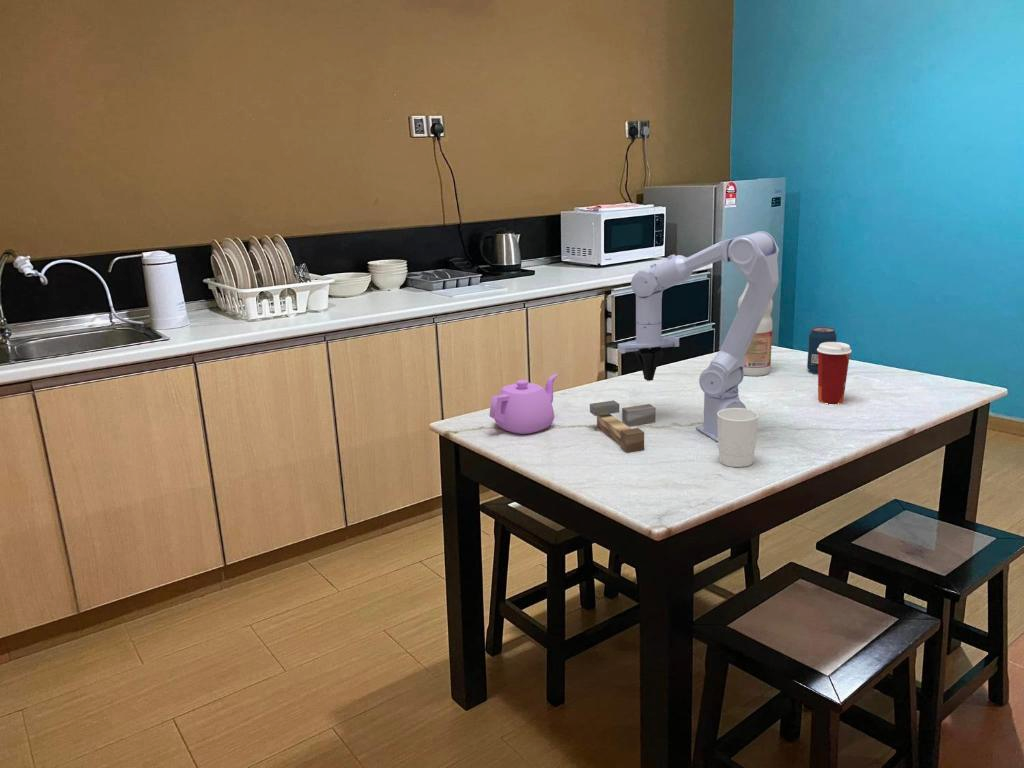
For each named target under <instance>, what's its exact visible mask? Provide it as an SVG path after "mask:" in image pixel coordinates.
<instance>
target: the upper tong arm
mask: <svg viewBox="0 0 1024 768" xmlns="http://www.w3.org/2000/svg"><path fill="white" fill-rule="evenodd" d="M597 421H598V422H599V423H600V424H602V425H603V426H604V427H606V428H607V429H608V430H610V431H611V432H612V433H614V434H615V435H616V436H618V437H619V438H620V439H621V430H627V429H632V428H631V426H627V425H625V424H624V423H622V420H619V419H618V418H616V417H615V416H614V415H612V414H606V415H599V416H596V422H597Z"/></svg>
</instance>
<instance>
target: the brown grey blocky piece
mask: <svg viewBox="0 0 1024 768" xmlns="http://www.w3.org/2000/svg"><path fill="white" fill-rule="evenodd" d="M621 408H622V409H621V422H622V423H624V424H625V425H627V426H628V427H634V426H635V427H634V428H631V429H627V430H621V439H620V438H619V437H618V436H616V435H615V434H614V433H612V432H611V431H610V430H608V429H607V428H606V427H604V426H603V425H602V424H600V423H599V422H598V421H597V420H596V429H597V428H598V429H599V430H600V431H602V432H603V433H604V435H607V437H608V438H610V439H611V440H612V441H614V442H615V443H616V444H617V445H619V446H620V449H622V450H623V451H624V452H625V453H627V454H629V453H634V452H641V451H645V431H643V430H642V429H640V428H639V427H636V426H641V425H647V424H648V425H649V424H653V423H654V424H655V423H656V406H654V405H652V404H651V403H648V404H640V405H633V406H626V407H621Z"/></svg>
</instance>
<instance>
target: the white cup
mask: <svg viewBox="0 0 1024 768" xmlns="http://www.w3.org/2000/svg"><path fill="white" fill-rule="evenodd" d="M759 416H760V415H759V413H758V412H757V411H755V410H752V409H748V408H746V409H744V408H727V409H723V410H720V411H718V413H717V429H718V441H717V448H718V460H719V463H721V464H723V465H724V466H727V467H733V468H745V467H749V466H751V465H753V464H754V461H755V453H756V452H755V450H756V449H757V448H756V446H757V438H758V430H759V418H760V417H759Z"/></svg>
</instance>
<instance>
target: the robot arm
mask: <svg viewBox="0 0 1024 768" xmlns="http://www.w3.org/2000/svg"><path fill="white" fill-rule="evenodd" d="M779 252H780V248H779V247H778V245H777V243H776V240H775V239H774V237H773V236H772V235H771V234H770V233H768V232H766V231H763V230H762V231H761V230H759V231H755V232H752V233H749V234H745V235H739V236H736V237H733V238H728V239H724V240H722V241H721V240H720V241H718V242H717V243H715V244H712V245H710V246H709V247H706V248H704V249H702V250H700V251H698V252H696V253H694V254H692V255H690V256H687V257H686V256H684V255H682V254H681V255H680V254H678V255H676V254H670V255H669V256H667V260H664V261H662V262H660V263H658V264H657V263H653V264H651V265H649V267H650V268H649V269H644V270H643V269H642V270H638V271H637V273H635V274H634V275H632V277H631V280H630V286H631V287H630V288H631V290H632V291H633V293H634V294H635V339H634V340H630V341H626V342H621V343H617V352H618V353H620V354H622V355H623V354H626V353H631V352H632V353H633V352H634V354H635V356H636V357H637V361H638V362H639V364H640V368H641V371H642V376H643V379H644V380H645V381H647V382H650V381H654V377H655V374H656V370H657V367H658V365H659V363H660V361H661V359H662V357H663V355H664V350H662V348H670V347H674V348H676V347H680V338H679V337H676V336H669V337H667V336H666V337H662V322H663V321H662V318H663V317H662V316H663V315H662V310H663V309H662V307H663V306H662V303H663V301H662V300H663V299H662V298H663V292H664V290H667V289H669V288H671V287H673V286H676V285H678V284H681V283H683V282H686V281H688V280H689V279H691V277H692V275H693V272H694V271H696V270H699V269H701V268H703V267H707V266H709V265H711V264H714V263H716V262H719V261H722V262H724V263H730V262H731V263H732V264H733V265H734V266H735V267H736V268H737V269H738V271H739V272H740V273H741V274H742V275H743V276H744V277H745V279H746V281H747V282H748V284H749V287H748V289H747V291H746V294H745V296H744V298H743V300H742V303H741V305H740V307H739V309H737V312H736V314H735V316H734V318H733V321H732V323H731V325H730V327H729V330H728V332H727V334H726V336H725V338H724V341H723V343H722V346H721V348H720V350H719V352H717V354H716V355H715V356H714V358H712V360H710V364H709V366H707V368H706V369H703V371H702V372H701V373H700V375H699V379H698V381H699V387H700V388H701V390H702V392H703V393H704V394H703V399H704V400H703V425H702V424H701V425H696V426H695V429H696V430H698V431H700V432H702V433H703V434H705V435H706V436H707V437H709V438H710V439H712V440H714V441H716V442H718V429H717V413H718V411H720V410H723V409H727V408H744V409H747V407H746V405H745V403H743V401H741V399H740V397H739V385H740V384H741V383H742V382H743V379H744V376H745V375H744V365H745V363H746V360H745V358H744V356H745V354H746V352H747V350H748V348H749V346H750V344H751V341H752V339H753V337H754V335H755V333H756V331H757V329H758V327H759V324H760V322H761V320H762V318H763V316H764V314H765V312H766V309H767V307H768V305H769V303H770V301H771V299H772V300H773V296H774V294H775V292H776V290H777V288H778V285H779V281H780V279H779V267H778V266H779V264H778V255H779ZM747 282H746V283H747Z"/></svg>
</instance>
